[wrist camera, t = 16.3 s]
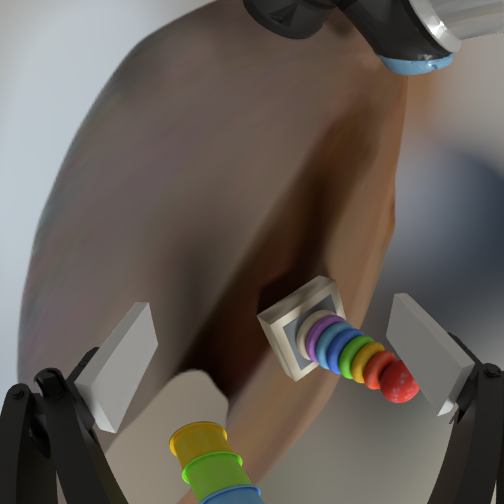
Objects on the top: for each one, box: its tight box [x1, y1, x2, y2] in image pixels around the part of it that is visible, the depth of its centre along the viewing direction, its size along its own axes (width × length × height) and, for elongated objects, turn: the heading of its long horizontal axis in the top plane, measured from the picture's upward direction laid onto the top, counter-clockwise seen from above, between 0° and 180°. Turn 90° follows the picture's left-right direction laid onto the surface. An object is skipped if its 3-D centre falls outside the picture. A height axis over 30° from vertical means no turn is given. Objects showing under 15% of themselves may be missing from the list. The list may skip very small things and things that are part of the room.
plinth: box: [257, 275, 346, 382], centre depth 41 cm, size 12×12×4 cm
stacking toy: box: [296, 310, 420, 403], centre depth 31 cm, size 8×8×19 cm
